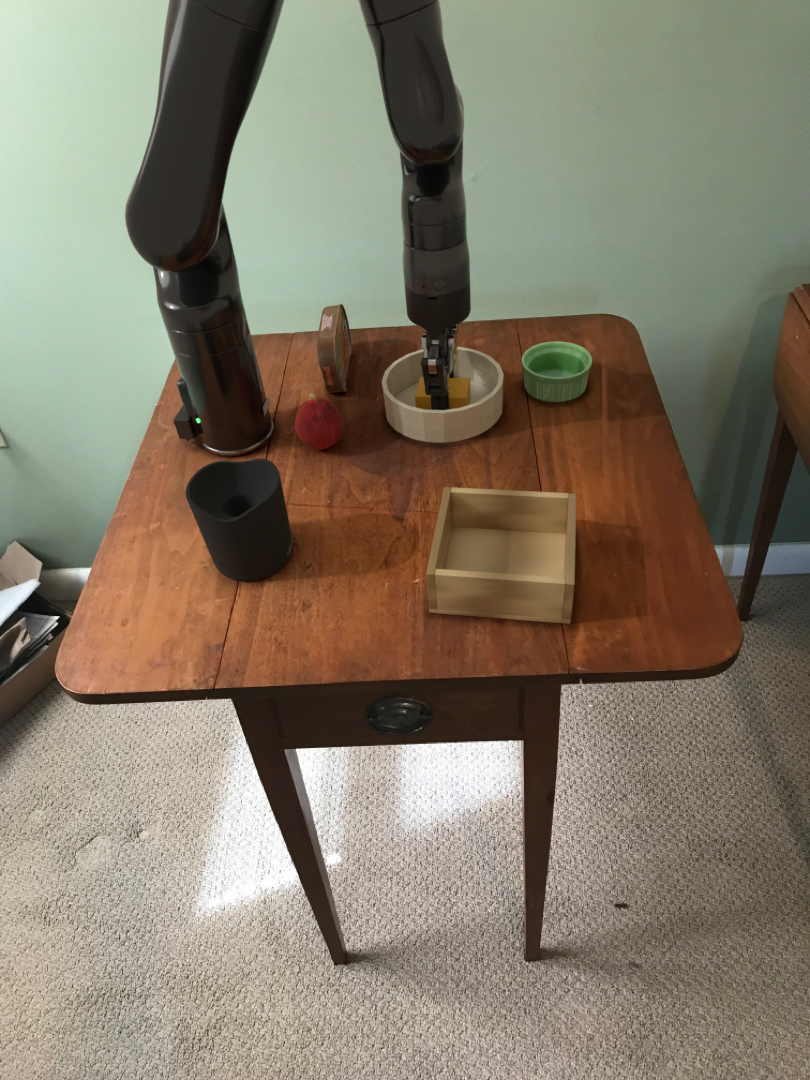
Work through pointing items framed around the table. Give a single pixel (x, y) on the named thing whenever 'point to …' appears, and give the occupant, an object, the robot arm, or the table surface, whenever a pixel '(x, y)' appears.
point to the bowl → (451, 422)
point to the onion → (318, 423)
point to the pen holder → (242, 517)
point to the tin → (334, 347)
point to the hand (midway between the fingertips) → (443, 402)
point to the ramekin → (556, 371)
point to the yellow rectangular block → (457, 394)
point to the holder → (504, 555)
